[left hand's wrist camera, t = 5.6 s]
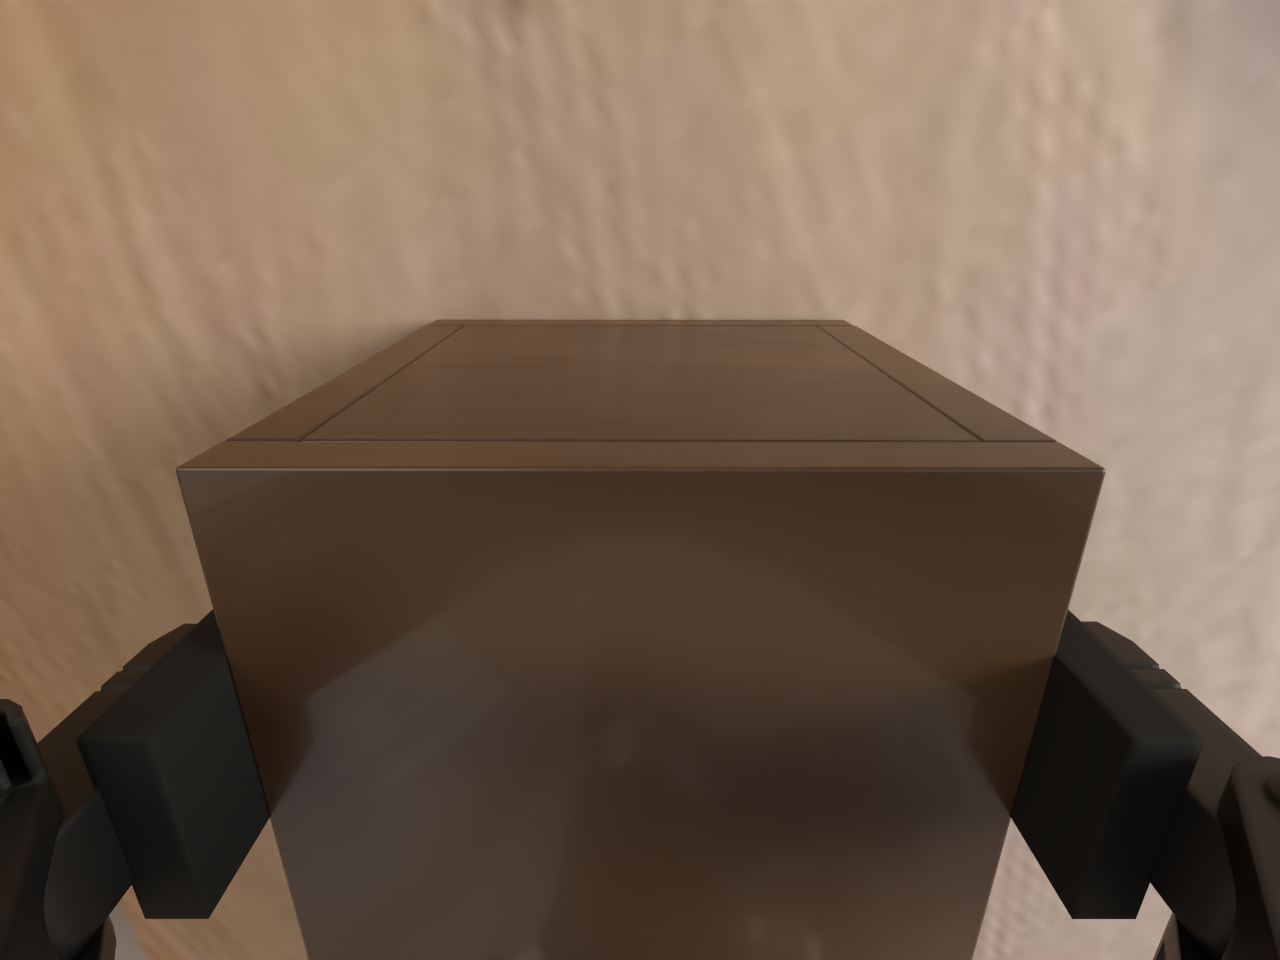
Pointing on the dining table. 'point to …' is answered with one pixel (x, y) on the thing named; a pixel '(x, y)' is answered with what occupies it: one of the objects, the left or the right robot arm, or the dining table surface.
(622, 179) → the dining table surface
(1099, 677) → the left robot arm
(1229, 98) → the dining table surface
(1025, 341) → the dining table surface
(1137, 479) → the dining table surface
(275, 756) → the cabinet
